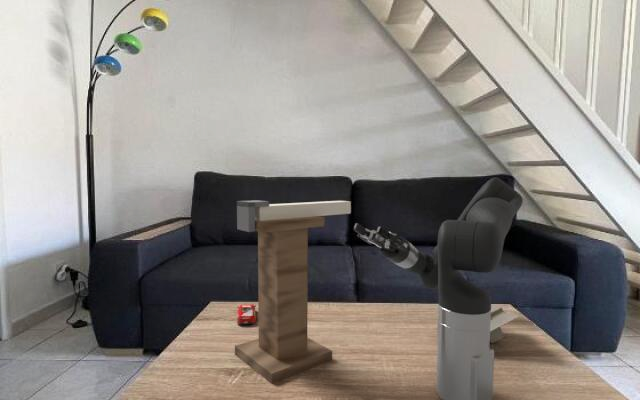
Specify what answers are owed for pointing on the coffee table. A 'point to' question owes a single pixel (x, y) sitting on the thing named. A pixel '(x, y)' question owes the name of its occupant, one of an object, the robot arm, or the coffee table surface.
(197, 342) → the coffee table surface
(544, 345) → the coffee table surface
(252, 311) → the race car
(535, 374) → the coffee table surface
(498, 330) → the grey slanted stand
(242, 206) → the white bar
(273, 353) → the wooden pedestal post
